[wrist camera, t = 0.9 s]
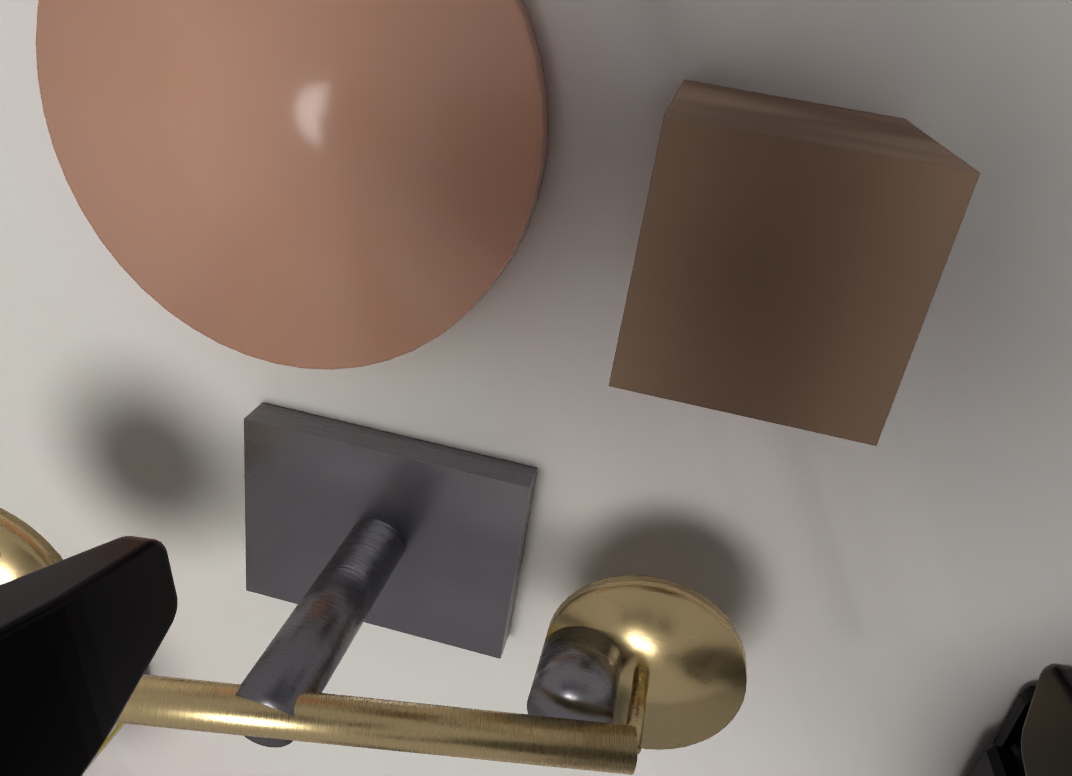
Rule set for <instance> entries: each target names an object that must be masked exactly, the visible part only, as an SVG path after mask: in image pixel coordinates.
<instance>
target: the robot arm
mask: <svg viewBox="0 0 1072 776" xmlns="http://www.w3.org/2000/svg"><path fill="white" fill-rule="evenodd" d="M176 610H177V594H176V590H175V585H174V581H173V577H172V572H171V568H170V563H169V559H168V554H167V551H166V548H165V547H164V545H163V544H162V543H161V542H160V541H158V540H155V539H149V538H142V537H134V536H124V537H120V538H118V539H115V540H113V541H110V542H107V543H105V544H102V545H100V546H97V547H95V548H92V549H90V550H87V551H85V552H82V553H80V554H77V555H74V556H72V557H69V558H67V559H64V560H62V561H59V562H57V563H54V564H52V565H49V566H47V567H44V568H41V569H39V570H36V571H34V572H31V573H29V574H26V575H24V576H21V577H19V578H16V579H14V580H11V581H8V582H6V583H3V584H1V585H0V776H82V775H83V773H84V772H85V770H86V769H87V768H88V766H89V765H90V763H91V762H92V760H93V759H94V757H95V756H96V754H97V753H98V751H99V750H100V748H101V747H102V745H103V744H104V742H105V740H106V739H107V737H108V735H109V734H110V732H111V730H112V729H113V727H114V725H115V724H116V722H117V720H118V718H119V717H120V715H121V713H122V711H123V710H124V708H125V706H126V704H127V702H128V701H129V699H130V697H131V695H132V694H133V692H134V690H135V688H136V686H137V685H138V683H139V681H140V679H141V678H142V676H143V674H144V672H145V670H146V669H147V667H148V665H149V663H150V662H151V660H152V658H153V656H154V655H155V653H156V651H157V649H158V647H159V646H160V644H161V642H162V640H163V639H164V637H165V635H166V633H167V631H168V630H169V628H170V626H171V624H172V622H173V620H174V617H175V614H176ZM970 776H1072V666H1070V665H1063V664H1051V665H1048V666H1046V667H1045V668H1044V669H1043V671H1042V672H1041V674H1040V677H1039V680H1038V683H1037V686H1034V687H1030V688H1028V689H1026V690H1024V691H1023V692H1022V694H1021V695H1020V696H1019V698H1018V700H1017V701H1016V703H1015V705H1014V707H1013V709H1012V710H1011V712H1010V714H1009V716H1008V718H1007V719H1006V721H1005V723H1004V725H1003V727H1002V728H1001V730H1000V732H999V734H998V736H997V737H996V739H995V741H994V743H993V745H991V746H990V747H989V748H987V749H986V750H985V751H984V752H983V754H982V756H981V757H980V759H979V761H978V763H977V765H976V766H975V768H974V770H973V772H972V774H971V775H970Z"/></svg>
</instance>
